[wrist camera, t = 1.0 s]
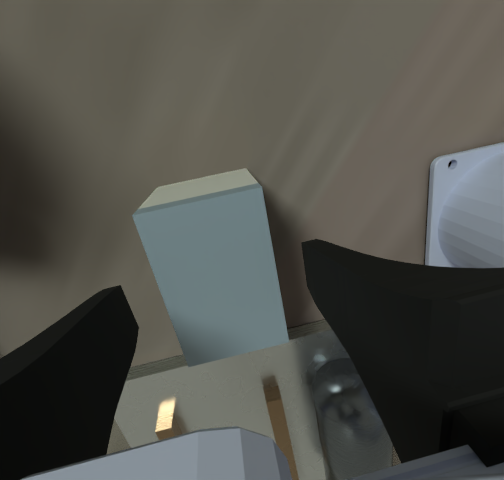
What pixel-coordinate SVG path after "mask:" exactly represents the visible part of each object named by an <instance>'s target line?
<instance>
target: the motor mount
mask: <svg viewBox="0 0 504 480" xmlns="http://www.w3.org/2000/svg"><path fill="white" fill-rule="evenodd" d="M287 332H288V338H289V342H288V343H284V344H280V345H276V346H272V347H268V348H264V349H260V350H256V351H252V352H248V353H244V354H240V355H236V356H232V357H228V358H224V359H220V360H216V361H212V362H208V363H204V364H200V365H196V366H192V367H188V364H187V362H186V359H185V356H184V355H181V356H177V357H172V358H168V359H164V360H160V361H156V362H152V363H148V364H144V365H140V366H136V367H132V368H130V369H129V372H128V375H127V378H126V381H125V384H124V388H123V391H122V394H121V397H120V400H119V403H118V406H117V409H116V413H115V417H114V419H115V420H116V422H117V424H118V426H119V427H120V429H121V431H122V433H123V434H124V436H125V438H126V440H127V442H128V443H129V445H130V447H131V448H133V447H137V446H140V445H144V444H148V443H151V442H155V441H159V440H163V439H166V438H170V437H174V436H178V435H181V434H185V433H189V432H192V431H196V430H200V429H209V428H221V427H232V426H238V427H241V428H244V429H247V430H250V431H253V432H256V433H259V434H262V435H265V436H267V437H270V438H272V439H273V440H274V442H275V443H276V444H277V446H278V447H279V448H280V450H281V451H282V452H283V454H284V455H285V456H286V458H287V460H288V464H289V468H290V472H291V477H292V480H346V479H350V478H353V477H357V476H360V475H364V474H367V473H371V472H374V471H377V470H381V469H384V468H388V467H391V466H393V443H392V441H391V439H390V437H389V435H388V433H387V431H386V429H385V426H384V424H383V422H382V420H381V418H380V416H379V414H378V412H377V410H376V408H375V406H374V404H373V402H372V399H371V397H370V395H369V393H368V391H367V389H366V387H365V385H364V383H363V381H362V379H361V378H360V376H359V374H358V372H357V370H356V368H355V366H354V364H353V362H352V360H351V358H350V357H349V355H348V353H347V352H346V350H345V348H344V347H343V345H342V344H341V342H340V341H339V339H338V338H337V336H336V335H335V333H334V332H333V330H332V329H331V327H330V326H329V324H328V323H327V321H326V320H321V321H317V322H313V323H309V324H305V325H301V326H297V327H293V328H289V329H287Z"/></svg>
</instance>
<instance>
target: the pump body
mask: <svg viewBox="0 0 504 480" xmlns="http://www.w3.org/2000/svg"><path fill="white" fill-rule="evenodd" d="M132 216H133V219H134V222H135V224H136V227H137V230H138V232H139V235H140V238H141V240H142V243H143V246H144V249H145V251H146V254H147V257H148V259H149V262H150V265H151V267H152V270H153V273H154V275H155V278H156V281H157V284H158V286H159V289H160V292H161V294H162V297H163V300H164V302H165V305H166V308H167V310H168V313H169V316H170V319H171V321H172V324H173V327H174V329H175V332H176V335H177V337H178V340H179V343H180V345H181V348H182V351H183V354H184V356H185V359H186V362H187V364H188V367H192V366H196V365H200V364H204V363H208V362H212V361H216V360H220V359H224V358H228V357H232V356H236V355H240V354H244V353H248V352H252V351H256V350H260V349H264V348H268V347H272V346H276V345H280V344H284V343H288V342H289V338H288V332H287V326H286V321H285V315H284V309H283V304H282V298H281V292H280V287H279V281H278V275H277V270H276V264H275V258H274V253H273V247H272V241H271V236H270V230H269V224H268V219H267V213H266V207H265V202H264V196H263V190H262V187H261V185H260V184H259V183H258V182H257V181H256V180H255V178H254V177H253V176H252V175H251V174H250V172H249V171H248V170H247V169H246V168H245V169H240V170H235V171H231V172H226V173H221V174H217V175H212V176H207V177H203V178H198V179H193V180H189V181H184V182H179V183H175V184H170V185H165V186H161V187H157V188H156V189H155V190H154V192H153V193H152V194H151V195H150V196H149V197H148V198H147V199H146V201H145V202H144V203H143V204H142V205H141V206H140V207H139V209H138V210H137V211H136V212H135V213H134V214H133V215H132Z"/></svg>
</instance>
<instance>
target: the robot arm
mask: <svg viewBox="0 0 504 480" xmlns="http://www.w3.org/2000/svg"><path fill="white" fill-rule="evenodd" d="M450 161H451V166H450V167H449V168H448V164H449V162H450ZM302 251H303V258H304V266H305V273H306V281H307V287H308V289H309V291H310V293H311V295H312V298H313V300H314V302H315V304H316V306H317V307H318V309H319V310H320V312H321V313H322V315H323V317H324V318H325V320H326V321H327V323H328V324H329V326H330V327H331V329H332V330H333V332H334V333H335V335H336V336H337V338H338V339H339V341H340V342H341V344H342V345H343V347H344V348H345V350H346V352H347V353H348V355H349V357H350V358H351V360H352V362H353V364H354V366H355V368H356V370H357V372H358V374H359V376H360V378H361V379H362V381H363V383H364V385H365V387H366V389H367V391H368V393H369V395H370V397H371V399H372V402H373V404H374V406H375V408H376V410H377V412H378V414H379V416H380V418H381V420H382V422H383V424H384V426H385V429H386V431H387V433H388V435H389V437H390V439H391V441H392V443H393V446H394V448H395V450H396V452H397V454H398V457H399V459H400V461H401V463H402V464H398V465H395V466H391V467H388V468H384V469H381V470H377V471H374V472H371V473H367V474H364V475H360V476H357V477H353V478H350V479H346V480H504V142H502V143H497V144H493V145H488V146H484V147H479V148H475V149H471V150H466V151H462V152H457V153H453V154H448V155H444V156H439V157H437V158H435V159H434V160H433V162H432V163H431V166H430V179H429V198H428V216H427V235H426V254H425V265H419V264H411V263H404V262H399V261H393V260H388V259H383V258H379V257H375V256H371V255H367V254H363V253H360V252H356V251H353V250H350V249H347V248H344V247H341V246H338V245H335V244H332V243H329V242H326V241H323V240H318V239H314V240H310V241H306V242H302ZM138 329H139V327H138V324H137V322H136V320H135V318H134V315H133V313H132V311H131V308H130V306H129V304H128V301H127V299H126V297H125V295H124V292H123V290H122V288H121V285H119V286H115V287H111V288H107V289H104V290H102V291H100V292H98V293H97V294H95V295H93V296H92V297H90V298H89V299H88V300H86V301H85V302H83V303H82V304H81V305H79V306H78V307H76V308H75V309H74V310H72V311H71V312H70V313H68V314H67V315H66V316H64V317H63V318H61V319H60V320H59V321H57V322H56V323H54V324H53V325H51V326H50V327H49V328H47V329H46V330H44V331H43V332H41V333H40V334H38V335H37V336H36V337H34V338H33V339H31V340H30V341H28V342H27V343H25V344H24V345H22V346H20V347H19V348H17V349H16V350H14V351H12V352H11V353H9V354H7V355H6V356H4V357H2V358H1V359H0V480H292V477H291V472H290V468H289V464H288V460H287V458H286V456H285V455H284V454H283V452H282V451H281V450H280V448H279V447H278V446H277V444H276V443H275V442H274V440H273V439H272V438H270V437H267V436H265V435H262V434H259V433H256V432H253V431H250V430H247V429H244V428H241V427H238V426H232V427H221V428H209V429H200V430H196V431H192V432H189V433H185V434H181V435H178V436H174V437H170V438H166V439H163V440H159V441H155V442H151V443H148V444H144V445H140V446H137V447H133V448H129V449H125V450H122V451H118V452H114V453H111V454H107V455H106V453H107V448H108V444H109V439H110V434H111V429H112V425H113V420H114V417H115V413H116V409H117V406H118V403H119V400H120V397H121V394H122V391H123V388H124V384H125V381H126V378H127V375H128V372H129V369H130V366H131V363H132V359H133V356H134V353H135V349H136V343H137V337H138Z"/></svg>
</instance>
